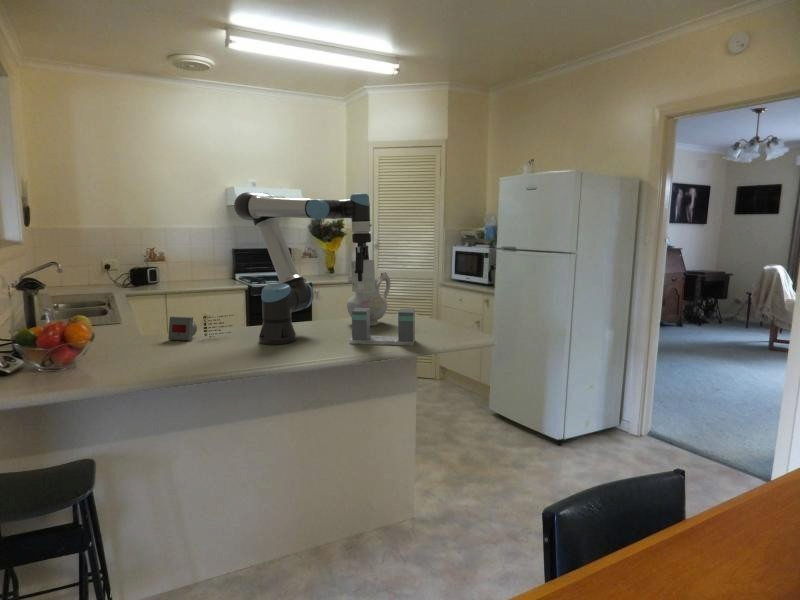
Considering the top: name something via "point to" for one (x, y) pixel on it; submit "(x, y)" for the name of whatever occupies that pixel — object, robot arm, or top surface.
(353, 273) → the small box
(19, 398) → the top surface
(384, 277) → the ceramic pitcher
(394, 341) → the rail plate
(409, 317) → the block
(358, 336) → the block
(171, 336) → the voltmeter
